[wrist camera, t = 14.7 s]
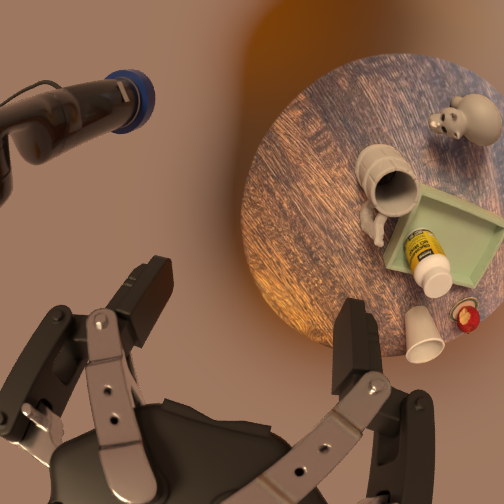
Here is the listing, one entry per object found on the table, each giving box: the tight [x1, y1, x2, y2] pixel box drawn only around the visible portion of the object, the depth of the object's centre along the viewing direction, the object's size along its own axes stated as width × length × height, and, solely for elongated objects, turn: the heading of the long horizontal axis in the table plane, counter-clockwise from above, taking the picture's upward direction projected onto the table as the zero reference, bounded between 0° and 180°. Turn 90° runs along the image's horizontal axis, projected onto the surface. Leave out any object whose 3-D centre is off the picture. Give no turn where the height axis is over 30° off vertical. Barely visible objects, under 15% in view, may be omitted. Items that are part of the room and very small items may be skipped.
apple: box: [449, 297, 480, 334], centre depth 44 cm, size 8×8×6 cm
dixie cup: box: [405, 306, 445, 363], centre depth 46 cm, size 8×8×10 cm
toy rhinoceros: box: [428, 94, 502, 146], centre depth 24 cm, size 7×12×8 cm, turn 111°
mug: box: [355, 144, 420, 247], centre depth 32 cm, size 8×12×12 cm, turn 168°
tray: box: [383, 183, 504, 289], centre depth 37 cm, size 22×15×3 cm
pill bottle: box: [403, 227, 452, 298], centre depth 35 cm, size 6×6×11 cm
